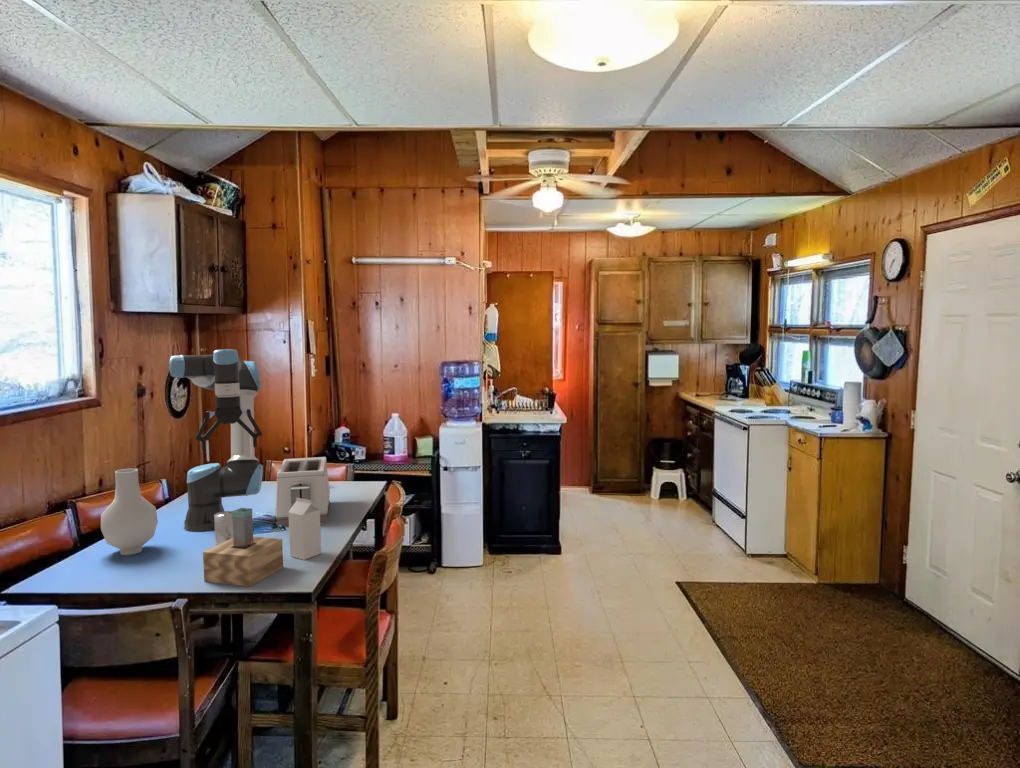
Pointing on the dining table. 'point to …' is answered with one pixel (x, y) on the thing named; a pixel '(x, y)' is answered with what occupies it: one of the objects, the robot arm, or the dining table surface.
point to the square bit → (242, 528)
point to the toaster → (302, 486)
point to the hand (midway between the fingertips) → (230, 458)
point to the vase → (128, 515)
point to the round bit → (223, 526)
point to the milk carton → (304, 529)
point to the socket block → (243, 561)
